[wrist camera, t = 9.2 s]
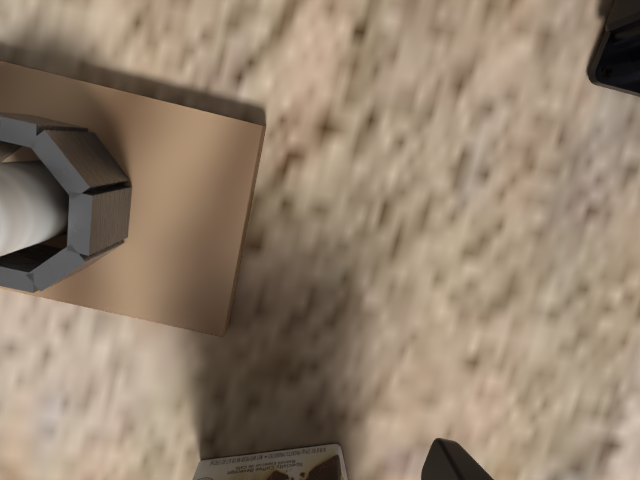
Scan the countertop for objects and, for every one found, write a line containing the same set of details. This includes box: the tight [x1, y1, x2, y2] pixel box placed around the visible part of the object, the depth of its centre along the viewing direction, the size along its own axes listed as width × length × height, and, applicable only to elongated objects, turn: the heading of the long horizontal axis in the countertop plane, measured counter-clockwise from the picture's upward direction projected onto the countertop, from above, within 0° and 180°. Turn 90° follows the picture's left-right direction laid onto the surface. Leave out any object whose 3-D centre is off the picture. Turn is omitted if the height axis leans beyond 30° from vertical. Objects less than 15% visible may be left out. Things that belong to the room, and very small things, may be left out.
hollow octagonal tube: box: [0, 112, 132, 293], centre depth 16 cm, size 7×7×3 cm
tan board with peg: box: [0, 61, 266, 337], centre depth 15 cm, size 14×11×6 cm
